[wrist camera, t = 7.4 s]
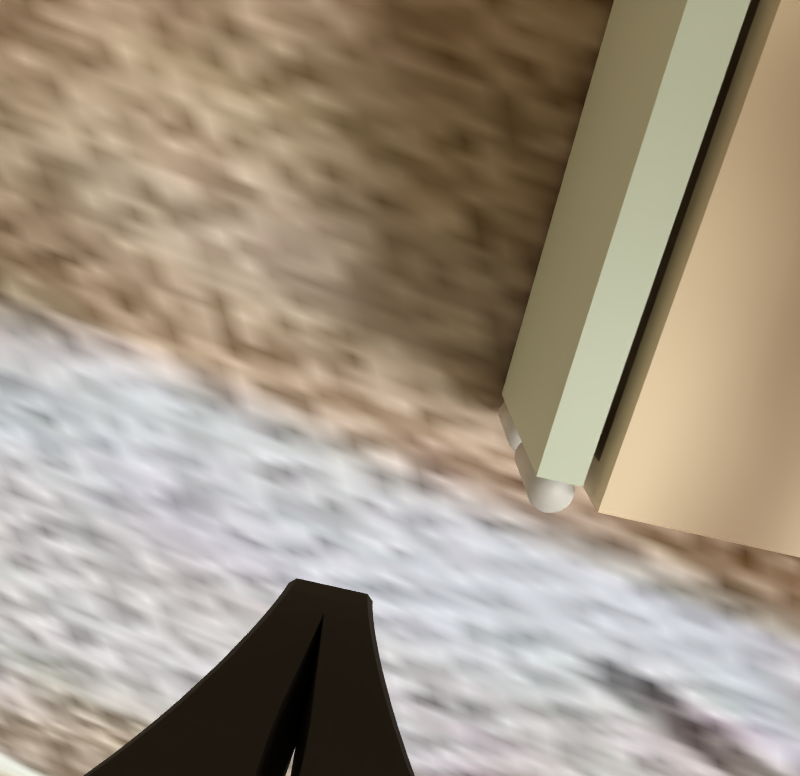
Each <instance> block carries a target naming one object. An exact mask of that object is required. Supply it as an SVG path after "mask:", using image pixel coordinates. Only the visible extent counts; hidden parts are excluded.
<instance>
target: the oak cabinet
mask: <svg viewBox="0 0 800 776" xmlns="http://www.w3.org/2000/svg"><path fill="white" fill-rule="evenodd" d="M583 488H584V489H585V491H586V493H587V494H588V496H589V498H590V500H591V501H592V503H593V505H594V506H595V508H596V510H597V512H599V513H603V514H608V515H612V516H617V517H621V518H626V519H630V520H635V521H639V522H644V523H648V524H653V525H657V526H662V527H666V528H671V529H675V530H679V531H684V532H688V533H693V534H697V535H702V536H706V537H711V538H715V539H720V540H724V541H729V542H733V543H738V544H742V545H747V546H751V547H756V548H760V549H764V550H769V551H773V552H778V553H782V554H787V555H791V556H796V557H800V0H751V1H750V4H749V7H748V10H747V12H746V15H745V18H744V21H743V24H742V27H741V30H740V33H739V36H738V39H737V41H736V44H735V47H734V50H733V53H732V56H731V59H730V62H729V65H728V67H727V70H726V73H725V76H724V79H723V82H722V85H721V88H720V91H719V94H718V96H717V99H716V102H715V105H714V108H713V111H712V114H711V117H710V120H709V123H708V125H707V128H706V131H705V134H704V137H703V140H702V143H701V146H700V149H699V151H698V154H697V157H696V160H695V163H694V166H693V169H692V172H691V175H690V178H689V180H688V183H687V186H686V189H685V192H684V195H683V198H682V201H681V204H680V207H679V209H678V212H677V215H676V218H675V221H674V224H673V227H672V230H671V233H670V235H669V238H668V241H667V244H666V247H665V250H664V253H663V256H662V259H661V262H660V264H659V267H658V270H657V273H656V276H655V279H654V282H653V285H652V288H651V291H650V293H649V296H648V299H647V302H646V305H645V308H644V311H643V314H642V317H641V319H640V322H639V325H638V328H637V331H636V334H635V337H634V340H633V343H632V346H631V348H630V351H629V354H628V357H627V360H626V363H625V366H624V369H623V372H622V374H621V377H620V380H619V383H618V386H617V389H616V392H615V395H614V398H613V401H612V403H611V406H610V409H609V412H608V415H607V418H606V421H605V424H604V427H603V430H602V432H601V435H600V438H599V441H598V444H597V447H596V450H595V453H594V456H593V458H592V461H591V464H590V467H589V470H588V473H587V476H586V479H585V482H584V485H583Z"/></svg>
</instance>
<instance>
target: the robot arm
mask: <svg viewBox="0 0 800 776" xmlns="http://www.w3.org/2000/svg"><path fill="white" fill-rule="evenodd" d="M372 602H373V601H372V600H371V598H370V597H369V595H368V594H365V593H360V592H356V591H351V590H347V589H342V588H338V587H333V586H329V585H324V584H320V583H315V582H311V581H306V580H302V579H295V580H293V581H291V582H290V583H289V584H288V585H287V587H286V588H285V590H284V591H283V592H282V594H281V595H280V596H279V598H278V599H277V600H276V602H275V603H274V604H273V605H272V607H271V608H270V609H269V610H268V611H267V612H266V614H265V615H264V616H263V617H262V618H261V619H260V620H259V622H258V623H257V624H256V625H255V626H254V627H253V628H252V630H251V631H250V632H249V633H248V634H247V635H246V636H245V637H244V638H243V639H242V640H241V641H240V642H239V643H238V644H237V645H236V646H235V647H234V648H233V649H232V650H231V651H230V652H229V654H228V655H227V656H226V657H225V658H224V659H223V660H222V661H221V662H220V663H219V664H218V665H217V666H216V667H214V668H213V669H212V670H211V671H210V672H209V673H208V674H207V675H206V676H205V677H204V678H203V679H201V680H200V681H199V682H198V683H197V684H196V685H195V686H194V687H193V688H192V689H191V690H190V691H188V692H187V693H186V694H185V695H184V696H183V697H182V698H181V699H180V700H179V701H178V702H176V703H175V704H174V705H173V706H172V707H171V708H169V709H168V710H167V711H166V712H165V713H164V714H162V715H161V716H160V717H159V718H158V719H157V720H155V721H154V722H153V723H152V724H150V725H149V726H148V727H147V728H146V729H144V730H143V731H142V732H141V733H139V734H138V735H137V736H136V737H134V738H133V739H132V740H130V741H129V742H128V743H127V744H125V745H124V746H123V747H122V748H120V749H119V750H118V751H116V752H115V753H114V754H113V755H111V756H110V757H109V758H107V759H106V760H104V761H103V762H102V763H100V764H99V765H98V766H96V767H95V768H93V769H92V770H91V771H89V772H88V773H87V774H85V775H84V776H285V775H286V772H287V769H288V767H289V764H290V761H291V758H292V755H293V752H294V749H295V753H294V759H293V765H292V771H291V776H415V775H414V773H413V770H412V767H411V764H410V762H409V759H408V756H407V753H406V750H405V747H404V744H403V741H402V738H401V735H400V732H399V729H398V726H397V722H396V719H395V716H394V712H393V709H392V706H391V702H390V698H389V694H388V690H387V686H386V683H385V679H384V675H383V671H382V667H381V662H380V658H379V653H378V647H377V642H376V636H375V630H374V622H373V610H372Z"/></svg>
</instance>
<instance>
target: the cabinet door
mask: <svg viewBox="0 0 800 776" xmlns="http://www.w3.org/2000/svg"><path fill="white" fill-rule="evenodd" d="M750 1H751V0H614V2H613V6H612V9H611V13H610V16H609V20H608V23H607V27H606V30H605V34H604V37H603V41H602V44H601V48H600V51H599V55H598V58H597V62H596V65H595V69H594V72H593V76H592V79H591V83H590V86H589V90H588V93H587V97H586V100H585V104H584V107H583V111H582V114H581V118H580V121H579V125H578V128H577V132H576V135H575V139H574V142H573V146H572V149H571V153H570V156H569V160H568V163H567V167H566V170H565V174H564V177H563V181H562V184H561V188H560V191H559V195H558V198H557V202H556V205H555V209H554V213H553V216H552V220H551V223H550V227H549V230H548V234H547V237H546V241H545V244H544V248H543V251H542V255H541V258H540V262H539V265H538V269H537V272H536V276H535V279H534V283H533V286H532V290H531V293H530V297H529V300H528V304H527V307H526V311H525V314H524V318H523V321H522V325H521V328H520V332H519V335H518V339H517V342H516V346H515V349H514V353H513V356H512V360H511V363H510V367H509V370H508V374H507V377H506V381H505V384H504V388H503V391H502V396H503V398H504V402H503V403H502V405H501V406H500V409H499V417H500V420H501V423H502V426H503V428H504V431H505V434H506V437H507V440H508V442H509V444H510V446H511V447H512V448H513V449H514V450H516V451H515V462H516V465H517V467H518V470H519V473H520V476H521V478H522V481H523V484H524V487H525V490H526V492H527V495H528V498H529V501H530V502H531V504H532V505H533V506H534V507H535V508H536V509H538V510H540V511H542V512H546V513H554V512H558V511H561V510H563V509H564V508H566V507H567V506H568V505H569V504H570V503H571V501H572V499H573V497H574V492H575V491H574V485H577V486H581V487H583V485H584V482H585V479H586V476H587V473H588V470H589V467H590V464H591V461H592V458H593V456H594V453H595V450H596V447H597V444H598V441H599V438H600V435H601V432H602V430H603V427H604V424H605V421H606V418H607V415H608V412H609V409H610V406H611V403H612V401H613V398H614V395H615V392H616V389H617V386H618V383H619V380H620V377H621V374H622V372H623V369H624V366H625V363H626V360H627V357H628V354H629V351H630V348H631V346H632V343H633V340H634V337H635V334H636V331H637V328H638V325H639V322H640V319H641V317H642V314H643V311H644V308H645V305H646V302H647V299H648V296H649V293H650V291H651V288H652V285H653V282H654V279H655V276H656V273H657V270H658V267H659V264H660V262H661V259H662V256H663V253H664V250H665V247H666V244H667V241H668V238H669V235H670V233H671V230H672V227H673V224H674V221H675V218H676V215H677V212H678V209H679V207H680V204H681V201H682V198H683V195H684V192H685V189H686V186H687V183H688V180H689V178H690V175H691V172H692V169H693V166H694V163H695V160H696V157H697V154H698V151H699V149H700V146H701V143H702V140H703V137H704V134H705V131H706V128H707V125H708V123H709V120H710V117H711V114H712V111H713V108H714V105H715V102H716V99H717V96H718V94H719V91H720V88H721V85H722V82H723V79H724V76H725V73H726V70H727V67H728V65H729V62H730V59H731V56H732V53H733V50H734V47H735V44H736V41H737V39H738V36H739V33H740V30H741V27H742V24H743V21H744V18H745V15H746V12H747V10H748V7H749V4H750Z"/></svg>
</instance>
